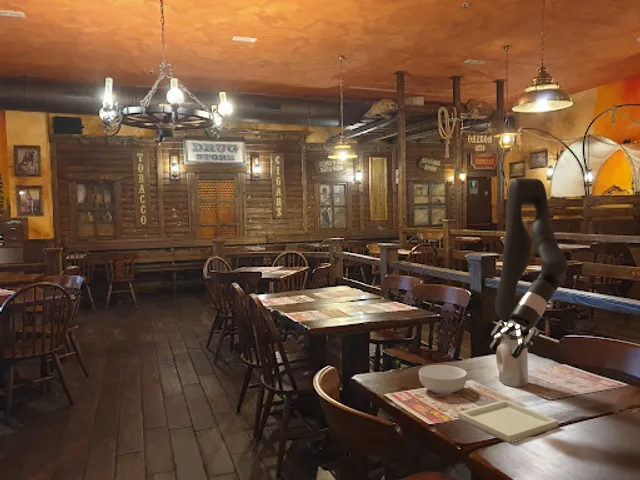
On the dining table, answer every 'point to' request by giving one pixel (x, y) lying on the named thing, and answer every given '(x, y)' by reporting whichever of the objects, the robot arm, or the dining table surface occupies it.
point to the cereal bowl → (442, 378)
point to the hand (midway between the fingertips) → (502, 353)
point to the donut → (505, 360)
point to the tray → (508, 420)
